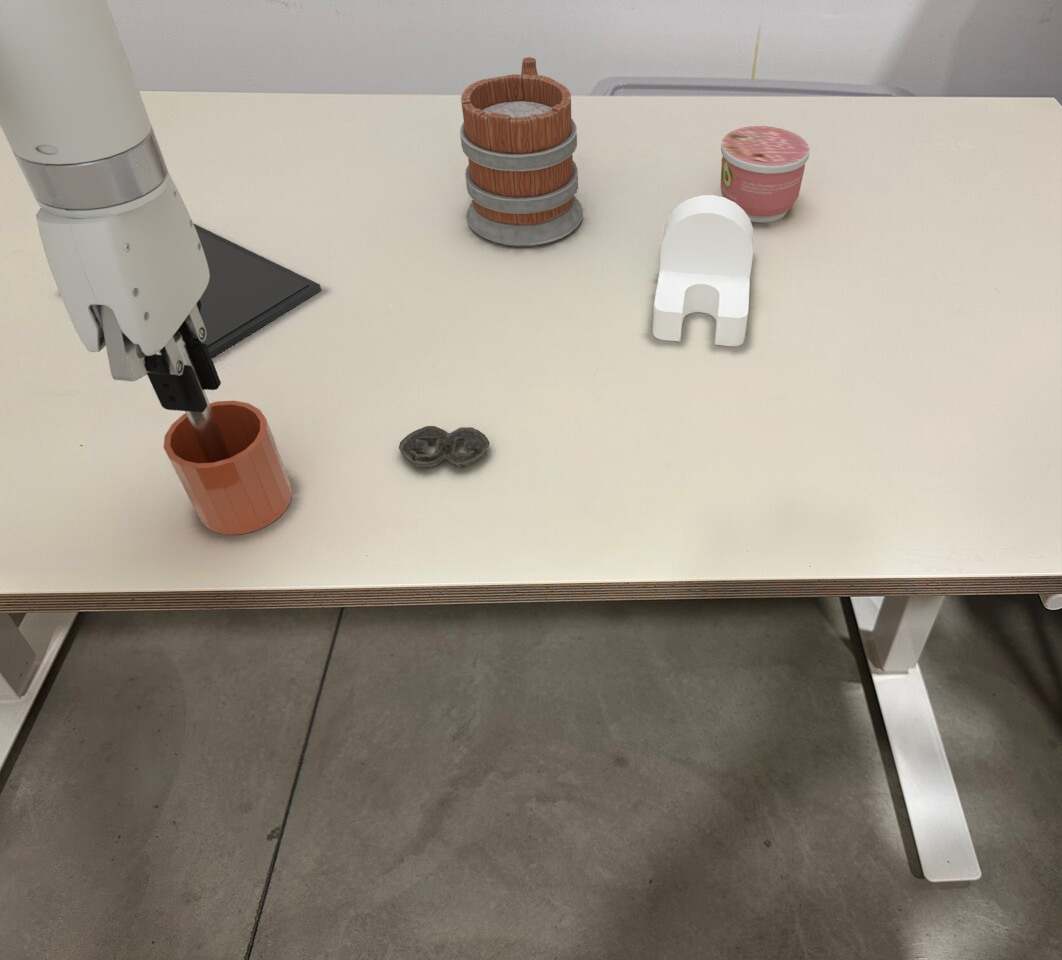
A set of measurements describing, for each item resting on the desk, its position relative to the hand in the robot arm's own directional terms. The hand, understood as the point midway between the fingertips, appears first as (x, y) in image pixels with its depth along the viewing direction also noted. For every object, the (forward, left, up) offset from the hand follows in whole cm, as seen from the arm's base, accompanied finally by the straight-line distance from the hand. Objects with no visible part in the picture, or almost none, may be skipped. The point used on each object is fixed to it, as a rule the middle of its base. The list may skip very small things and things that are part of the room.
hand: (192, 396), depth 67 cm
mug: (+52, +11, -12) cm, 55 cm away
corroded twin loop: (+14, -10, -12) cm, 21 cm away
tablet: (+17, +29, -12) cm, 36 cm away
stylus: (0, 0, -9) cm, 9 cm away
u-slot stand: (+49, -16, -12) cm, 53 cm away
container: (+69, -12, -12) cm, 72 cm away
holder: (0, 0, -12) cm, 12 cm away
